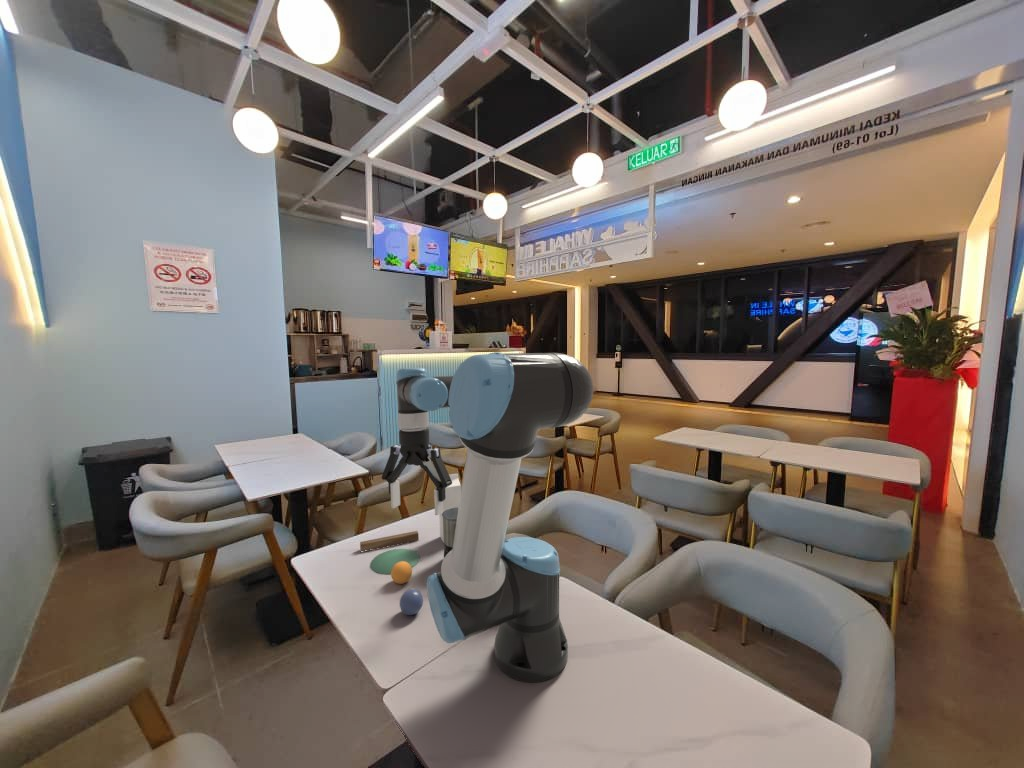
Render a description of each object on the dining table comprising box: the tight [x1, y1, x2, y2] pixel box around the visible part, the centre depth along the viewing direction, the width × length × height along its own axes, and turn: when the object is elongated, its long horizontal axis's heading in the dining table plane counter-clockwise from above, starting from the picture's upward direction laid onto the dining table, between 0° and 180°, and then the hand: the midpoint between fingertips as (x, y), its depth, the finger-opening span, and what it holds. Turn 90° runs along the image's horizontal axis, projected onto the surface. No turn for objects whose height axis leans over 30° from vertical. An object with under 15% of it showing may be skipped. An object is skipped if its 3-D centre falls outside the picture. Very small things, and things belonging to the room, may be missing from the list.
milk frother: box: [442, 507, 459, 559], centre depth 118 cm, size 14×16×15 cm
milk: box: [438, 473, 462, 544], centre depth 131 cm, size 6×6×22 cm
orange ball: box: [390, 561, 413, 585], centre depth 107 cm, size 6×6×6 cm
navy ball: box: [399, 588, 424, 616], centre depth 94 cm, size 6×6×6 cm
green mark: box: [370, 548, 420, 575], centre depth 118 cm, size 14×14×1 cm
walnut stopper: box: [359, 530, 420, 552], centre depth 128 cm, size 2×18×2 cm, turn 115°
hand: (417, 509), depth 102 cm, fingers open, 13 cm apart
